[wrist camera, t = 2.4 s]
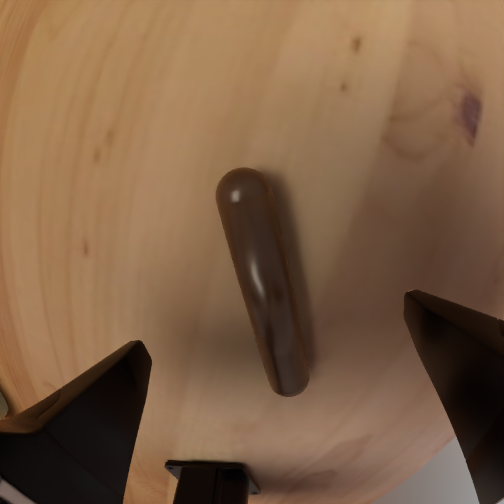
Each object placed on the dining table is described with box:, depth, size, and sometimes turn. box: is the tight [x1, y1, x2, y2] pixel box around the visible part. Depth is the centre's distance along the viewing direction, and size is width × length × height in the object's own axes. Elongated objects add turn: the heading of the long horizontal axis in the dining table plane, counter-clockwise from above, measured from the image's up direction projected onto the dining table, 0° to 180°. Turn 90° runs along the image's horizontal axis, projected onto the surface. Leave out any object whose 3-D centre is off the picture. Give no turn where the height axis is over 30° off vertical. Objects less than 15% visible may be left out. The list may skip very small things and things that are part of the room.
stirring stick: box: [216, 168, 309, 397], centre depth 10 cm, size 10×2×2 cm, turn 14°
